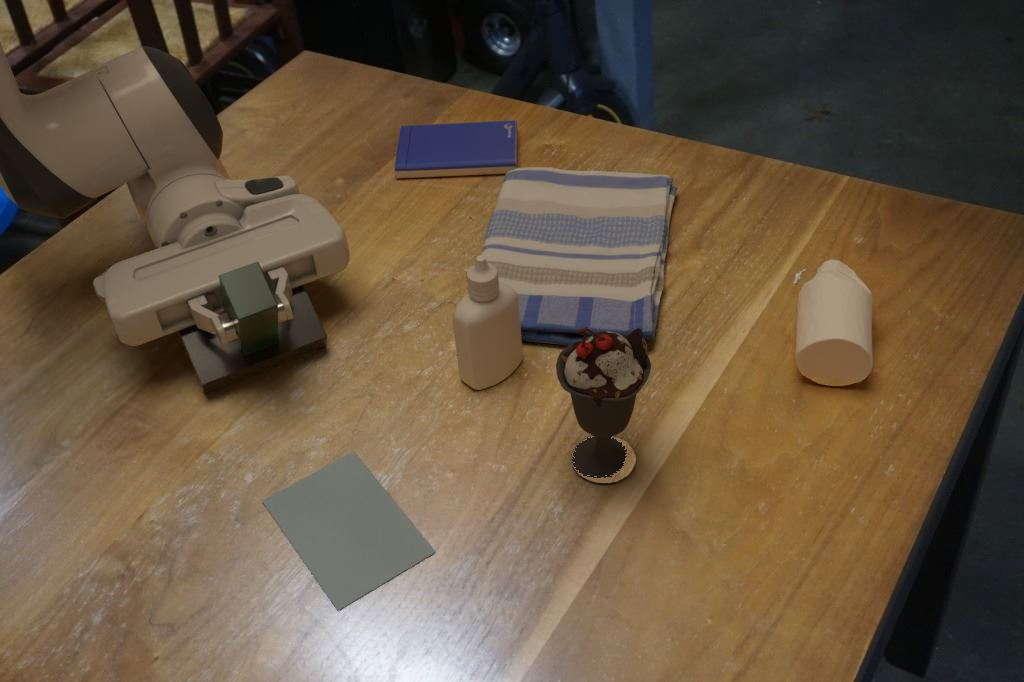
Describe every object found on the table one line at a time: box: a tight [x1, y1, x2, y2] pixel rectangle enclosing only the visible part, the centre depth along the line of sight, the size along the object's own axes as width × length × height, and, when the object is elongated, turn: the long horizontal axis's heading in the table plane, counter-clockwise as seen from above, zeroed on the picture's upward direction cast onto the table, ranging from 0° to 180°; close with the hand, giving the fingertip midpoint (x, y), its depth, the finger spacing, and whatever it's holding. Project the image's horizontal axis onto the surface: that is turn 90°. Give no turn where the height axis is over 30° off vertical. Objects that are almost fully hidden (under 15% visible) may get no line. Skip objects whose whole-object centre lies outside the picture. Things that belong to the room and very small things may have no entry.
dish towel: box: [480, 166, 678, 346], centre depth 101 cm, size 17×24×3 cm
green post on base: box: [176, 262, 328, 395], centre depth 89 cm, size 11×6×11 cm
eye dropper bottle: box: [452, 254, 524, 391], centre depth 88 cm, size 4×6×12 cm
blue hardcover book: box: [394, 119, 518, 179], centre depth 115 cm, size 2×8×12 cm
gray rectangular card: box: [261, 450, 436, 612], centre depth 81 cm, size 12×8×1 cm, turn 35°
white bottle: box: [794, 258, 874, 383], centre depth 90 cm, size 6×12×6 cm, turn 167°
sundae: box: [555, 326, 652, 478], centre depth 79 cm, size 7×7×15 cm
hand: (257, 325), depth 87 cm, fingers closed on green post on base, 3 cm apart
